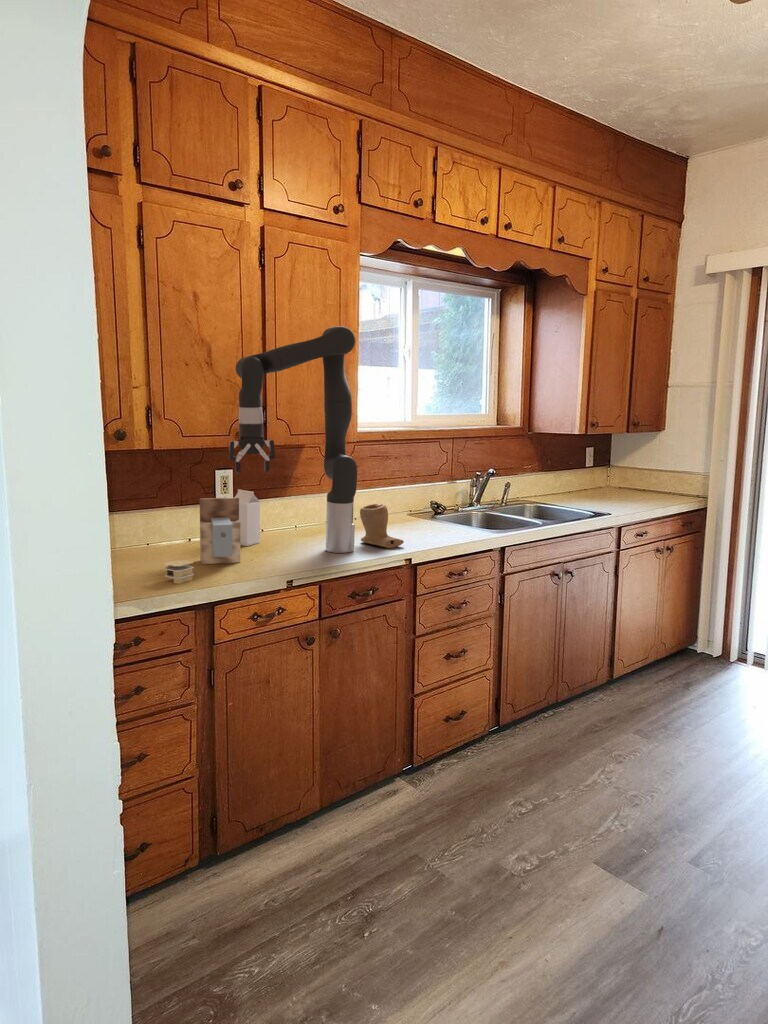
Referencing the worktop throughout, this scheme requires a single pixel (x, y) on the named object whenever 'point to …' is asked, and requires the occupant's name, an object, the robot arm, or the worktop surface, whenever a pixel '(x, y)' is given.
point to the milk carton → (249, 517)
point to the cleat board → (208, 511)
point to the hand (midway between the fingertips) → (252, 472)
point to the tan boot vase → (377, 526)
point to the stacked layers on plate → (179, 571)
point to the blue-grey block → (221, 537)
